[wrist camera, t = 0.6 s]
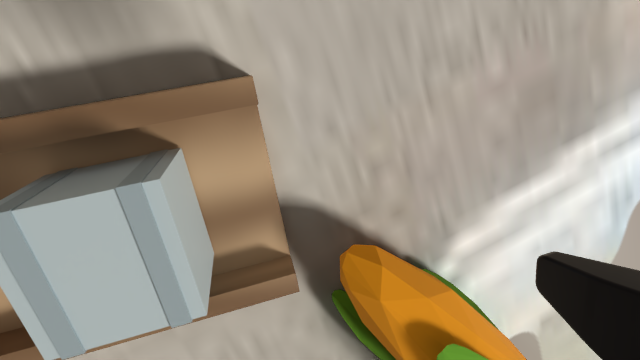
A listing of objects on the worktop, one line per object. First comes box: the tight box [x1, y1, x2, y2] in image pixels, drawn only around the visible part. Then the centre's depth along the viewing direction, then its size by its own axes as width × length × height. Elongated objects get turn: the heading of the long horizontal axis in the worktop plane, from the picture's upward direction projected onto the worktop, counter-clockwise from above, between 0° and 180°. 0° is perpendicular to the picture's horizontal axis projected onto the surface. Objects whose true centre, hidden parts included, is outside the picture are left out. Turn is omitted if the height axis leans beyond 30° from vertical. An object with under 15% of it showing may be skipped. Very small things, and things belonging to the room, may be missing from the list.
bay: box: [0, 75, 299, 360], centre depth 14 cm, size 11×23×5 cm, turn 99°
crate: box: [0, 148, 214, 360], centre depth 14 cm, size 6×6×5 cm
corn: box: [332, 245, 527, 360], centre depth 21 cm, size 7×8×20 cm
